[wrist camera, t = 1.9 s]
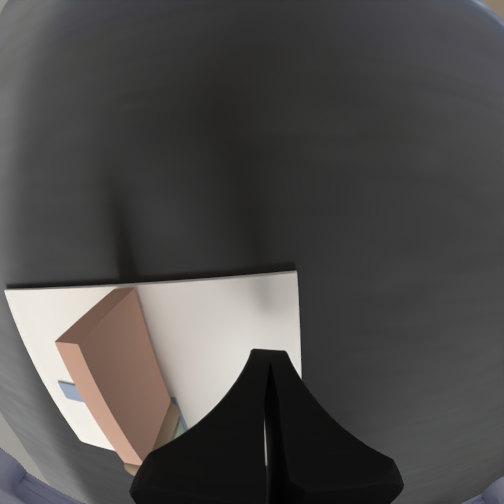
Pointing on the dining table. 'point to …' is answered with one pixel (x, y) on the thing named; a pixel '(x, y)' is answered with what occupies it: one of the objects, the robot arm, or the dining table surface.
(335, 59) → the dining table surface
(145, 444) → the fence panel
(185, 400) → the card
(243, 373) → the robot arm
